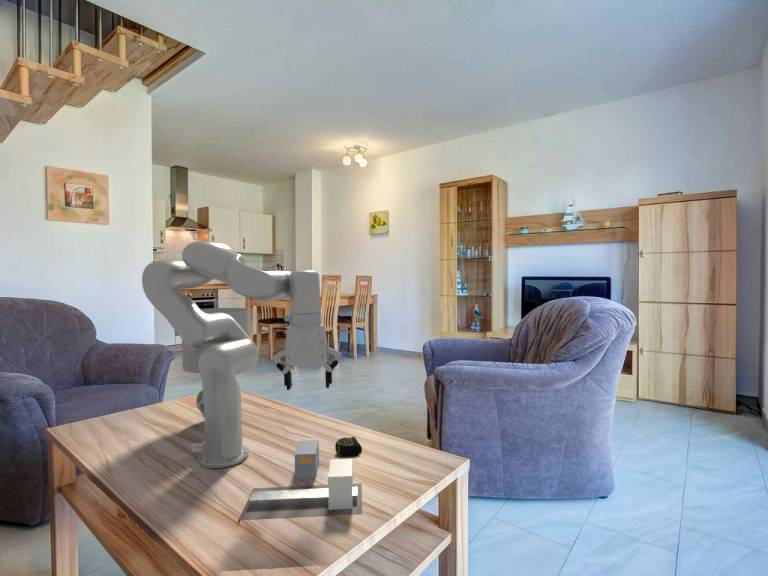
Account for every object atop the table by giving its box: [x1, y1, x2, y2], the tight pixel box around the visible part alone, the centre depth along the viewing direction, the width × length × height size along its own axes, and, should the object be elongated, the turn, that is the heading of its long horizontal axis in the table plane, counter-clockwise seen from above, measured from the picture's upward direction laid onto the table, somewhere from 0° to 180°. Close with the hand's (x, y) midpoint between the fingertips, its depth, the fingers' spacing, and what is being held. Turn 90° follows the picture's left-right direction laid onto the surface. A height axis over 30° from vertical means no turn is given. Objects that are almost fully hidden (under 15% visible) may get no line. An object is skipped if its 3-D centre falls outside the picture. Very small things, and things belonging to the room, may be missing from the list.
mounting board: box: [237, 482, 363, 525], centre depth 89 cm, size 25×12×1 cm, turn 94°
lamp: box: [181, 307, 251, 424], centre depth 139 cm, size 22×22×38 cm
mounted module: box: [327, 457, 354, 510], centre depth 89 cm, size 5×8×7 cm, turn 4°
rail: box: [248, 487, 357, 507], centre depth 89 cm, size 23×4×2 cm, turn 94°
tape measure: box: [334, 436, 363, 458], centre depth 113 cm, size 7×7×4 cm
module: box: [294, 439, 320, 480], centre depth 102 cm, size 5×8×7 cm, turn 4°
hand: (308, 387), depth 102 cm, fingers open, 9 cm apart
